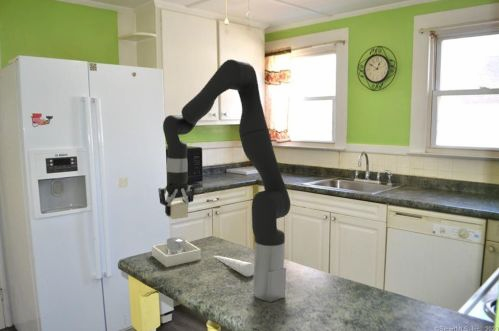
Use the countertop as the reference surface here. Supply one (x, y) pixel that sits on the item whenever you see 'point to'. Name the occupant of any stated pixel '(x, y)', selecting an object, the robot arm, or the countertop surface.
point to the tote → (188, 256)
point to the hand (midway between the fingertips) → (176, 214)
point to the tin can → (175, 245)
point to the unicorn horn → (238, 265)
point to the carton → (178, 210)
